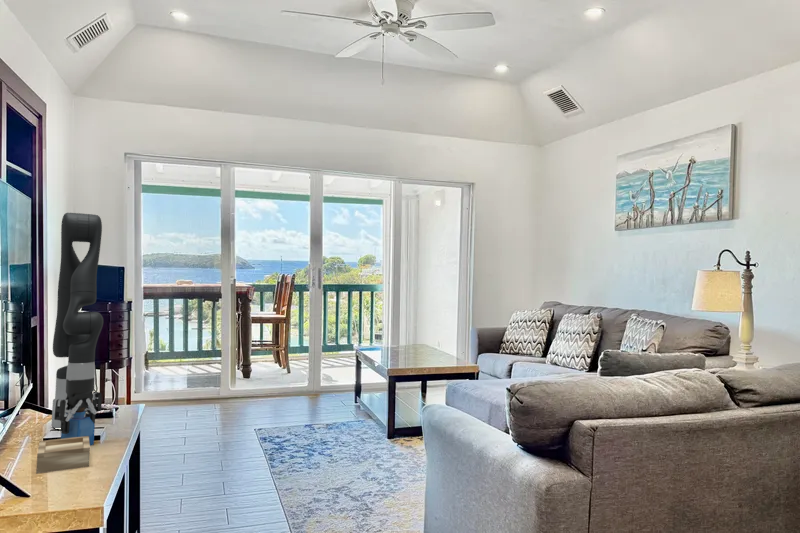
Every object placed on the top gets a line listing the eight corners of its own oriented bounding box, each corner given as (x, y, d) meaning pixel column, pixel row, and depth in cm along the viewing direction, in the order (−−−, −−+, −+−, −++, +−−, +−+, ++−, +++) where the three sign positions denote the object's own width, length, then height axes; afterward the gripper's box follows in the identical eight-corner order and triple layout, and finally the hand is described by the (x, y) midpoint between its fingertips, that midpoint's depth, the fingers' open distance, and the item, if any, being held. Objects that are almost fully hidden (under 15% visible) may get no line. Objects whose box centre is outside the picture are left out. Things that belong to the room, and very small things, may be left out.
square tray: (38, 459, 149) (39, 441, 149) (87, 453, 155) (88, 435, 155) (36, 473, 139) (37, 453, 139) (88, 466, 145) (89, 447, 145)
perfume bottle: (77, 450, 158) (79, 410, 158) (60, 448, 159) (62, 408, 159) (93, 444, 164) (95, 405, 164) (76, 442, 165) (78, 404, 165)
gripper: (91, 372, 170) (88, 423, 169) (49, 379, 156) (46, 434, 155) (109, 374, 167) (106, 425, 167) (68, 381, 154) (65, 437, 153)
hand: (77, 430), depth 161 cm, fingers open, 8 cm apart
